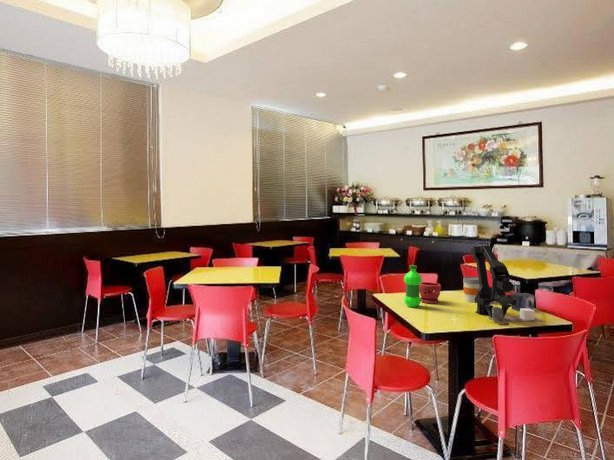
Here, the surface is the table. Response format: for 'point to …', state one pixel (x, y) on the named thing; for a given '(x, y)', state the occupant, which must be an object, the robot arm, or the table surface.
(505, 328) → the table surface
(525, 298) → the small box
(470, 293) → the reusable coffee cup
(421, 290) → the plant pot
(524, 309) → the off-white block
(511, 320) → the walnut strip
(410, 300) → the plastic bottle
